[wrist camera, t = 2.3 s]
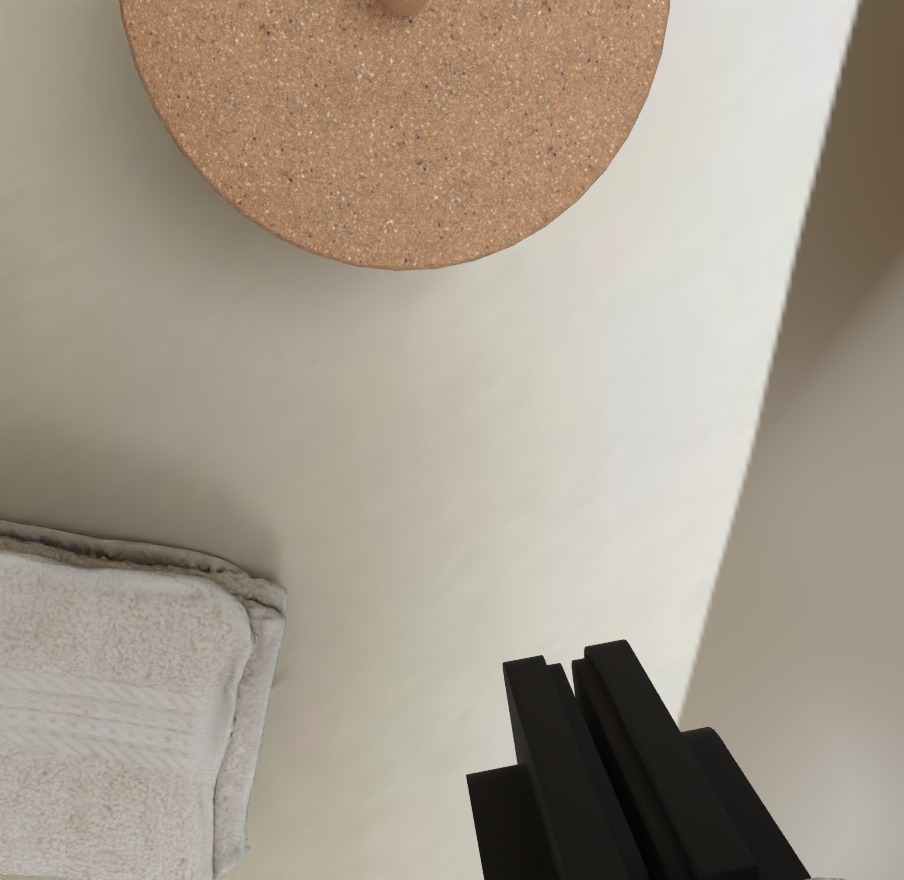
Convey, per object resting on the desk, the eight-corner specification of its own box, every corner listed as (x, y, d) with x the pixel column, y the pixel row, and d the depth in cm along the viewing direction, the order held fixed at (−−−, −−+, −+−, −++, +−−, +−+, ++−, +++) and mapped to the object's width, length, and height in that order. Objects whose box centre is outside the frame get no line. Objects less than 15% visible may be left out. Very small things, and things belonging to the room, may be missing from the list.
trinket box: (151, -158, 22) (5, -394, 13) (563, -198, 22) (700, -448, 13) (233, 265, 25) (162, 315, 16) (590, 220, 26) (713, 243, 17)
